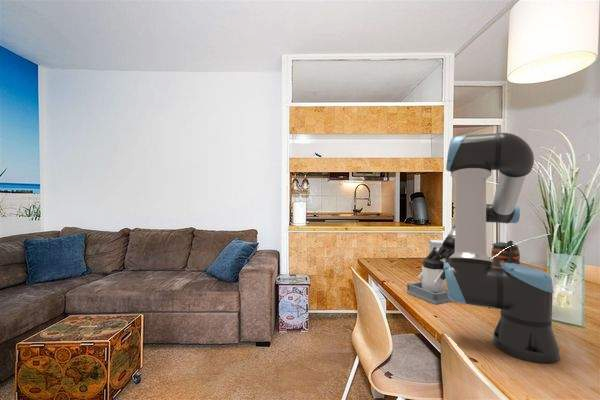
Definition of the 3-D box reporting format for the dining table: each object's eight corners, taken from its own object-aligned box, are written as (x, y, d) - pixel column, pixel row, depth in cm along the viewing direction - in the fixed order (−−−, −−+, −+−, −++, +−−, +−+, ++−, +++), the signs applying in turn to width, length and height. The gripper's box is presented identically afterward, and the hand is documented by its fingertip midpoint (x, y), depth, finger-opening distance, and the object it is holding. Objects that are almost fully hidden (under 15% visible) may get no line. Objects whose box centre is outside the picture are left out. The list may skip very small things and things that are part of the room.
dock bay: (459, 299, 126) (459, 289, 126) (435, 304, 120) (435, 294, 120) (430, 288, 140) (430, 280, 140) (407, 293, 134) (407, 284, 134)
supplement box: (430, 271, 170) (430, 241, 169) (428, 267, 179) (428, 239, 178) (449, 273, 167) (449, 242, 167) (446, 269, 176) (446, 240, 175)
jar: (435, 293, 125) (436, 264, 124) (418, 288, 132) (418, 260, 131) (447, 289, 130) (448, 261, 129) (430, 284, 136) (431, 258, 136)
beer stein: (530, 282, 151) (531, 242, 151) (497, 279, 155) (498, 240, 155) (515, 272, 169) (515, 236, 169) (485, 270, 173) (486, 235, 173)
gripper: (480, 250, 127) (453, 294, 121) (439, 243, 146) (414, 280, 139) (472, 238, 125) (444, 282, 118) (431, 232, 143) (405, 270, 137)
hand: (427, 281), depth 129 cm, fingers closed on jar, 8 cm apart
